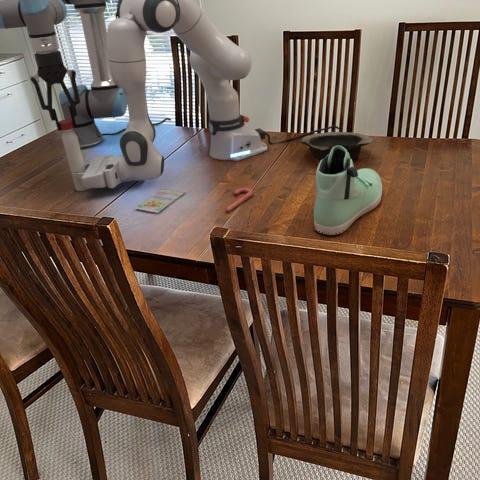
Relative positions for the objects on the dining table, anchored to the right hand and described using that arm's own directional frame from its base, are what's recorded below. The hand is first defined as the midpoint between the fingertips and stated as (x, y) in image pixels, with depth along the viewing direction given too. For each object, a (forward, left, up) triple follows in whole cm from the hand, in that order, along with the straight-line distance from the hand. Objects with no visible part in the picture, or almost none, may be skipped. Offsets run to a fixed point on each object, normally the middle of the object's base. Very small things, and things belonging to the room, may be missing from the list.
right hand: (75, 171), depth 162 cm
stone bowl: (-86, +28, -6) cm, 90 cm away
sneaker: (-67, +61, -6) cm, 91 cm away
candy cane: (-41, +40, -6) cm, 57 cm away
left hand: (-1, 0, +15) cm, 15 cm away
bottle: (-1, 0, -6) cm, 6 cm away
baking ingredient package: (-21, +26, -6) cm, 33 cm away
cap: (-1, 0, +17) cm, 17 cm away
